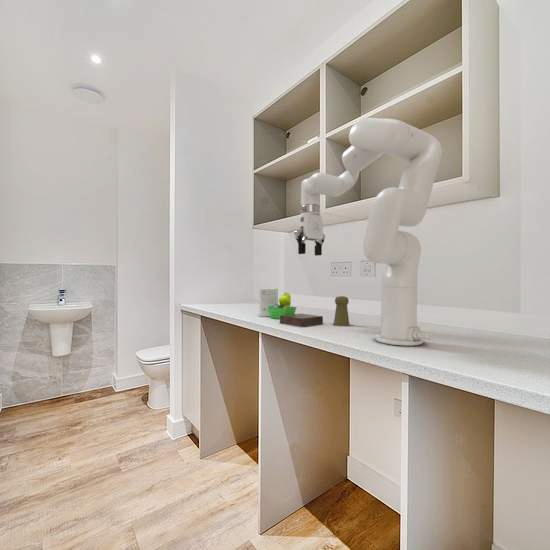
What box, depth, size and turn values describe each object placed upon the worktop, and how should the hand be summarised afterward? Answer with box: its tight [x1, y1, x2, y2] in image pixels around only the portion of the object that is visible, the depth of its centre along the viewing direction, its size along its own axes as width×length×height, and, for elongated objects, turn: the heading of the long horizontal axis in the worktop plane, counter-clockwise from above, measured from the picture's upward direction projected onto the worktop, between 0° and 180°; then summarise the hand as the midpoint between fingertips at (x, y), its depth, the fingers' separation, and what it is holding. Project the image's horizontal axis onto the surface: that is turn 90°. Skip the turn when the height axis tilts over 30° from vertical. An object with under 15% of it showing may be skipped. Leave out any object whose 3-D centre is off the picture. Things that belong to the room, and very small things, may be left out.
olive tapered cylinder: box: [333, 295, 350, 327], centre depth 121 cm, size 6×6×11 cm
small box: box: [259, 287, 279, 317], centre depth 147 cm, size 8×6×13 cm
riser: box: [279, 313, 324, 328], centre depth 123 cm, size 12×12×3 cm
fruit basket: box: [268, 292, 297, 320], centre depth 138 cm, size 11×9×11 cm
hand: (310, 254), depth 122 cm, fingers open, 9 cm apart
